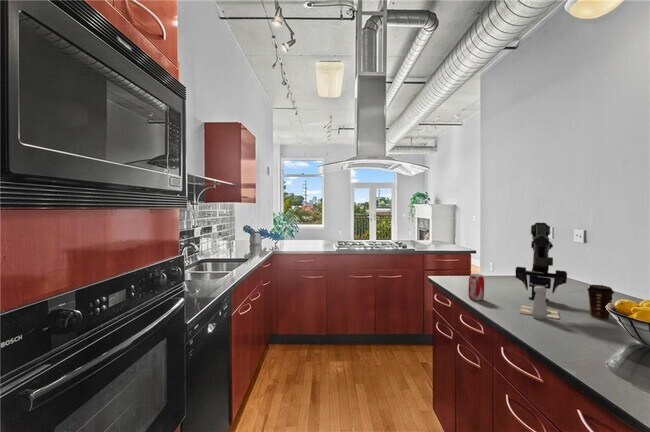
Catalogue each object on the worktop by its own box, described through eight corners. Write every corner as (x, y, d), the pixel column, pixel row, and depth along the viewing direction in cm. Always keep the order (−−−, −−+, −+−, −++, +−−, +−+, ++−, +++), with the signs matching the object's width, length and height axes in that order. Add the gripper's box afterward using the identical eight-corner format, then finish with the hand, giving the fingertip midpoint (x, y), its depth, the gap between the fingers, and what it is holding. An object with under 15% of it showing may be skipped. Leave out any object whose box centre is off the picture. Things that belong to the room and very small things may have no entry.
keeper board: (521, 305, 162) (521, 304, 162) (557, 310, 154) (557, 309, 154) (519, 313, 150) (519, 312, 150) (559, 319, 142) (559, 318, 142)
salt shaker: (527, 315, 147) (528, 285, 146) (540, 315, 147) (541, 284, 147) (537, 320, 141) (538, 288, 140) (550, 320, 141) (551, 288, 141)
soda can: (485, 301, 167) (486, 276, 167) (469, 300, 169) (470, 276, 168) (481, 298, 174) (482, 274, 174) (466, 297, 176) (467, 273, 175)
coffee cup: (608, 315, 148) (609, 285, 148) (617, 321, 140) (618, 289, 140) (583, 313, 151) (584, 283, 151) (591, 319, 143) (592, 287, 143)
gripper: (516, 248, 155) (514, 277, 146) (567, 251, 145) (568, 283, 136) (516, 263, 162) (514, 292, 153) (565, 268, 152) (566, 298, 143)
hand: (539, 291), depth 146 cm, fingers open, 9 cm apart
